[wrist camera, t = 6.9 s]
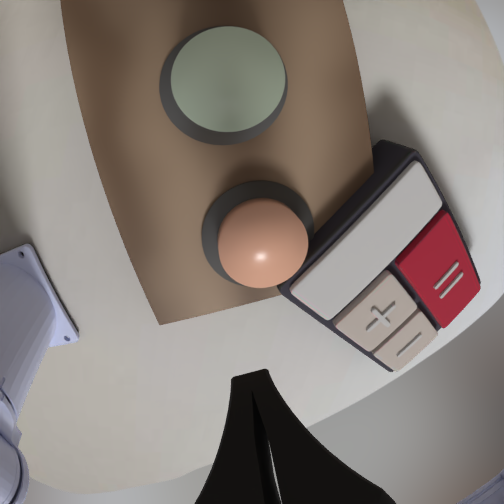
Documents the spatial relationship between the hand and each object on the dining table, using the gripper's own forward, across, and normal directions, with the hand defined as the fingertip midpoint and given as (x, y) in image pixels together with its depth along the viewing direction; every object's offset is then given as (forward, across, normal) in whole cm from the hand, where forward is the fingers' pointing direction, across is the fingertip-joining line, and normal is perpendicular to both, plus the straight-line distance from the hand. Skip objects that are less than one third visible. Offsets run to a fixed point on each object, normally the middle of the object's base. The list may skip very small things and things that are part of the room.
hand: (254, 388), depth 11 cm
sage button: (+6, -2, -11) cm, 12 cm away
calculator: (+10, -11, +3) cm, 15 cm away
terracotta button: (+7, -2, -3) cm, 8 cm away
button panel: (+9, -2, -11) cm, 14 cm away
